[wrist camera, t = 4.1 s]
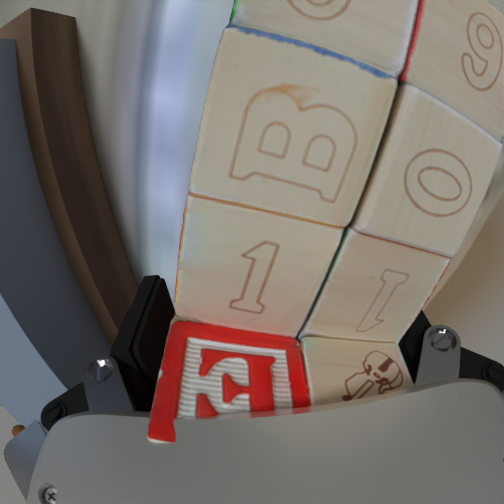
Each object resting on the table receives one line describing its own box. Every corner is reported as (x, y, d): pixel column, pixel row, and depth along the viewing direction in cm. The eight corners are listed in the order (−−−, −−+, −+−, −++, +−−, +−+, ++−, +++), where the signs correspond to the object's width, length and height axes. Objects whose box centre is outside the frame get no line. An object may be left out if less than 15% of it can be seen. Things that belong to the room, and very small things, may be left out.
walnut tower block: (80, 19, 10) (30, 7, 6) (175, 364, 23) (166, 411, 19) (-42, 98, 10) (-86, 112, 7) (63, 359, 23) (47, 395, 19)
